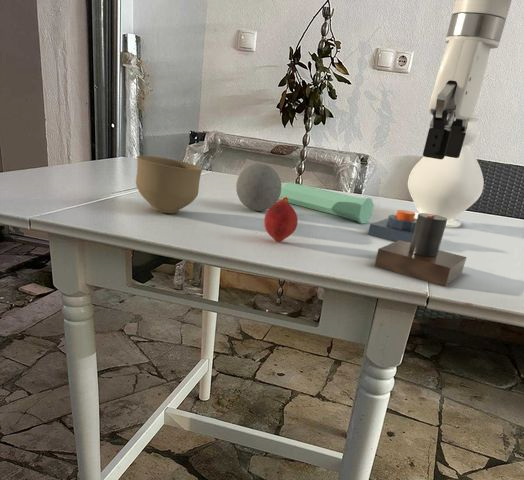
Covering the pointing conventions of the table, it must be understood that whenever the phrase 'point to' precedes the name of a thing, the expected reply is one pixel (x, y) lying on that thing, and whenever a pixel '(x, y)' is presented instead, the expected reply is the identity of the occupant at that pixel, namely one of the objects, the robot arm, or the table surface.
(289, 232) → the onion
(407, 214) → the button
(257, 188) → the decorative ball
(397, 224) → the button box
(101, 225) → the table surface
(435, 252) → the knob
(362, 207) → the green hexagonal prism
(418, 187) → the decorative vase
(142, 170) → the bowl
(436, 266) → the brown rectangular block
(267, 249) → the table surface
